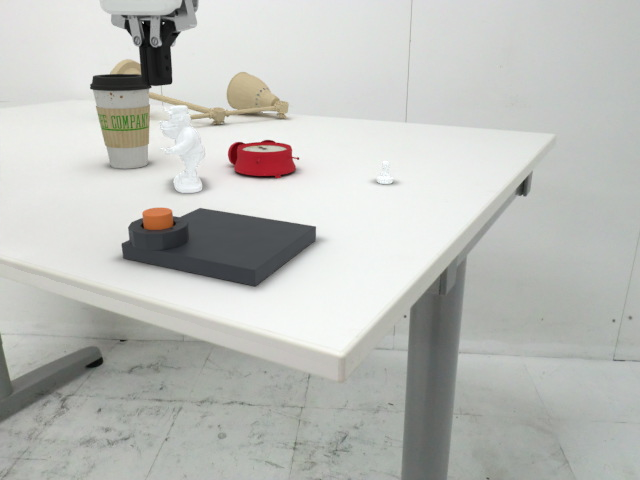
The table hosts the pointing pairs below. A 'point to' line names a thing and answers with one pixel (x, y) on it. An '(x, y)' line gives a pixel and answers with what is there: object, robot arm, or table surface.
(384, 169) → the chess pawn
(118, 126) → the coffee cup
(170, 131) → the figurine
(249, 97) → the desk lamp
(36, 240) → the table surface
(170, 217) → the button
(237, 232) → the scale
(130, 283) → the table surface
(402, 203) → the table surface
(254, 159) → the alarm clock
